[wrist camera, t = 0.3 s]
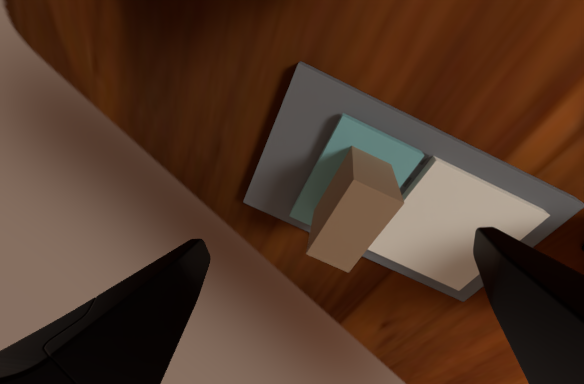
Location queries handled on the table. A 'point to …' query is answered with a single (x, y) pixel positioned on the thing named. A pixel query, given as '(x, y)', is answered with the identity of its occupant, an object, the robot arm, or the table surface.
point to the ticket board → (408, 185)
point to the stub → (353, 191)
